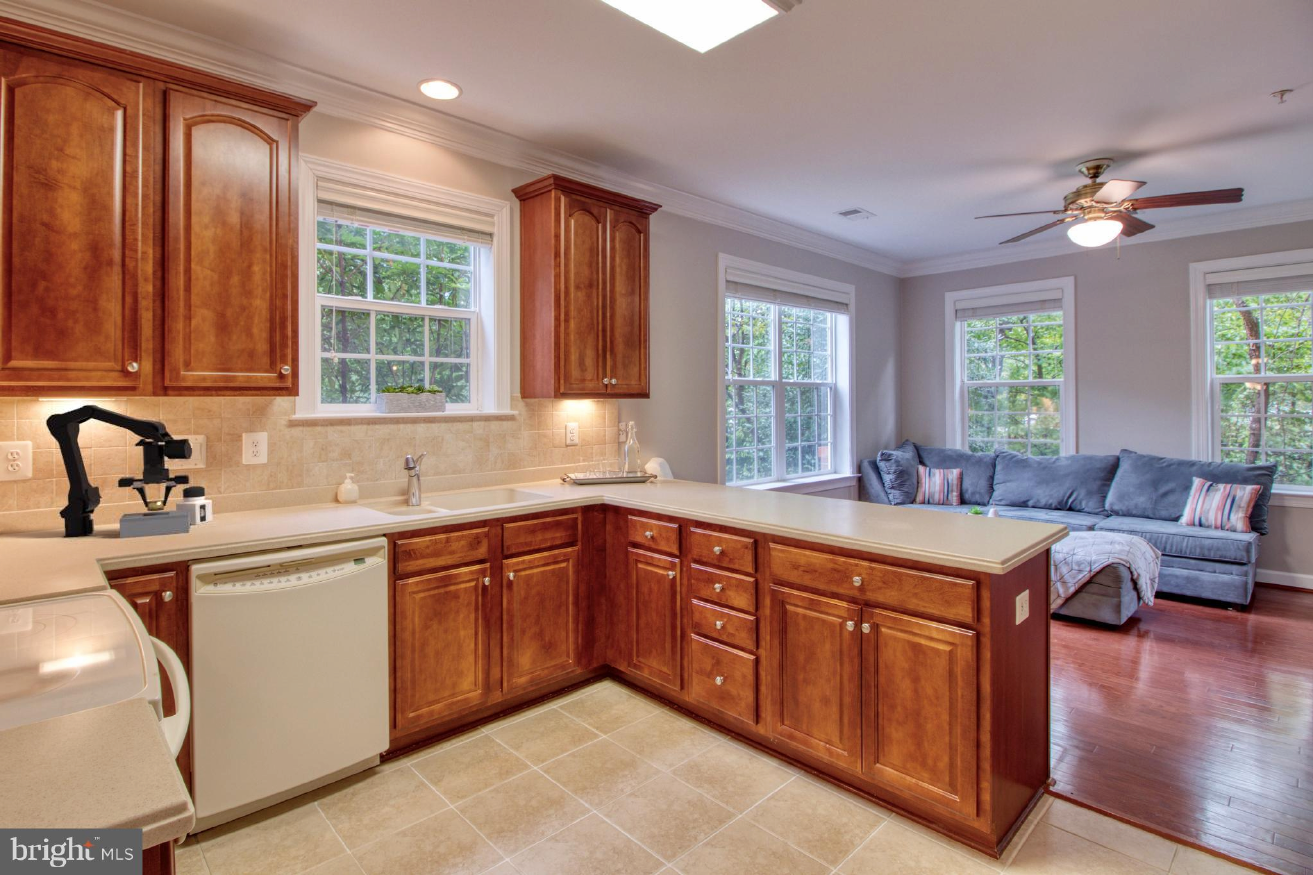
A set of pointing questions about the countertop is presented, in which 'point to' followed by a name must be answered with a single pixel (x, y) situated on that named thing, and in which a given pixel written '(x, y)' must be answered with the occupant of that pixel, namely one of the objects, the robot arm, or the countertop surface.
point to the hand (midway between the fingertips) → (155, 506)
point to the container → (196, 505)
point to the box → (154, 523)
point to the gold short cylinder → (155, 505)
